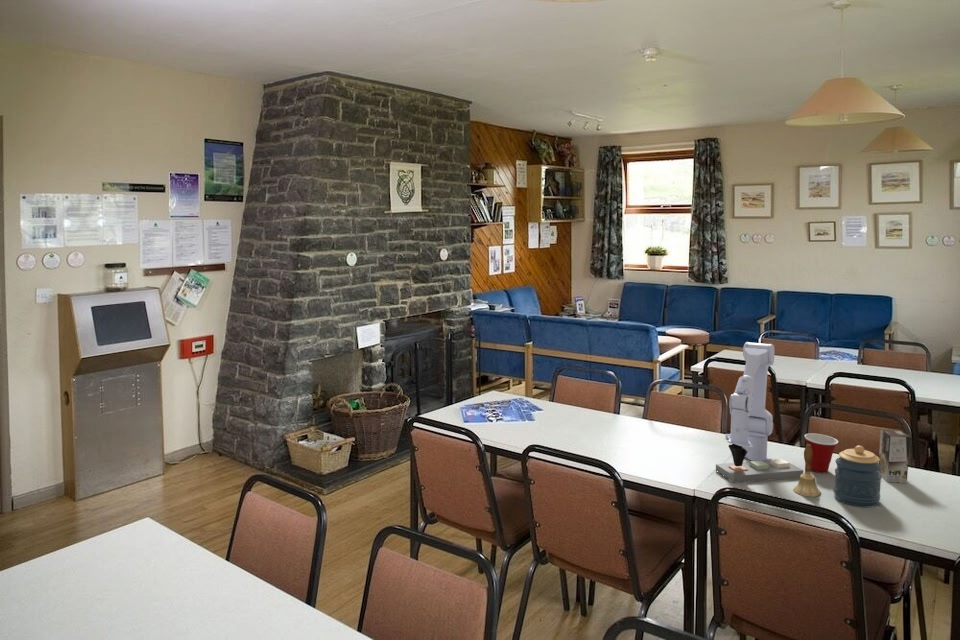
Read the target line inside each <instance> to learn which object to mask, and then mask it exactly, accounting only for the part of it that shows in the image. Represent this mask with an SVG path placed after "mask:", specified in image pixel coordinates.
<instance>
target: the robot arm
mask: <svg viewBox="0 0 960 640" xmlns="http://www.w3.org/2000/svg"><path fill="white" fill-rule="evenodd" d="M775 350H776V349H775V345H774V344H773V343H759V342H749V341H746V342H745V343H744V345H743V347H742V355H743V357H744V358H743V359H744V362H745V366H744V370H743V375H742V376H740V377H739V378H738V381H737V383H736V386H735V389H734V392H733V393H731V395H730V396H729V401H728V406H729V414H730V433H725V438H724V439H725V440H726V442H727V443H729V444H728V448H729V450H730V453H731V455H732V456H731V457H732V459H733V460H732V461H733V463H734V465H735V466H742V464H743V462H745V461H744V460H745V458H746V459H748V460H749V461H763V460H773V458H772V457H770V456H768V436H771V434H772V433H773V429H774V422H773V421H774V419H773V415H772V413H771V412H770V411H768V410H767V409H766V401H767V400H766V399H767V388H768V387H767V386H768V371H769V367H770V366H774V362H775Z"/></svg>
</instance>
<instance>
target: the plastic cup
mask: <svg viewBox="0 0 960 640" xmlns="http://www.w3.org/2000/svg"><path fill="white" fill-rule="evenodd" d="M804 439H805V443H806V444H810V445H811V448H812V452H813V456H812V461H811V464H810V466H811V469H810V470H811V471H812V472H815V473H819V472H820V473H821V474H824V472H825V473H828V472H827V471H828V470H829V468H830V464H831V461H832V458H833V454H834V450H835V448H836V446H837V445H838V443H839V440H838V439H837V438H834V437H832V436H830V435H826V434H823V433H822V434H821V433H813V432H812V433H806V434H804ZM806 444H805V445H806Z"/></svg>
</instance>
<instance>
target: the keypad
mask: <svg viewBox="0 0 960 640" xmlns="http://www.w3.org/2000/svg"><path fill="white" fill-rule="evenodd" d="M762 461H763V462H765V463H767V464H768V465H769V467H768V469H764V470H755V469H754V468H752V467H750V461H743V464H742V466H743V467H745V468H746V469H747V471H739V472H735V471H733V470H732V469H730V468H729V466H734V462H725V463H717V464H715V472H717V471H718V472H719V473H718V472H717V473H718V474H720V473H721V474H722V475H721V474H720V475H721V476H723V475H724V476H725V477H724V476H723V477H724V478H726V477H727V478H728V479H727V478H726V479H727V480H729V479H730V480H731V481H730V480H729V481H730V482H732V483H733V482H734V483H733V484H736V483H735V482H740V483H751V482H763V481H773V480H774V481H776V480H783V479H784V480H786V479H787V480H788V479H796V478H797V479H798V477H800V475H801V474H804V470H803V469H802V468H800V467H798V466H796V465H795V464H793V463H790V462H789V461H787V462H788V463H789V468H776V467H774V466H772V465H771V464H770V461H771V460H762Z"/></svg>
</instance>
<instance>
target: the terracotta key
mask: <svg viewBox="0 0 960 640" xmlns="http://www.w3.org/2000/svg"><path fill="white" fill-rule="evenodd" d="M729 468H730V469H732V470H733V471H735V472H739V471H747V469H746V468H745V467H743V466H735V465H734V466H729Z"/></svg>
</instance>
